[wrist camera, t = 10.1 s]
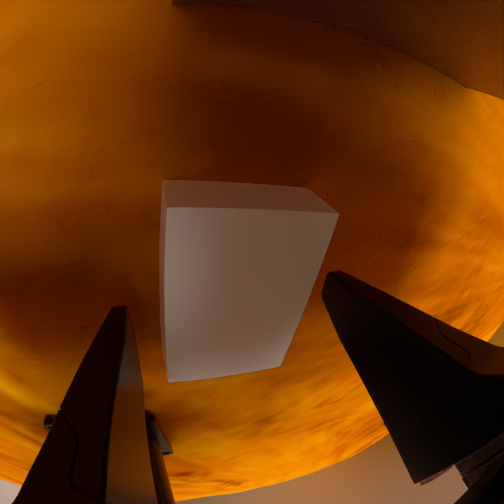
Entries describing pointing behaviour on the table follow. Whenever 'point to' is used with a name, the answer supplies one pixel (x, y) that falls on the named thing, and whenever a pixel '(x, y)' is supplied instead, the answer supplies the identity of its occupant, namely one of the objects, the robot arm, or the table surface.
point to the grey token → (235, 273)
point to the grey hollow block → (414, 31)
